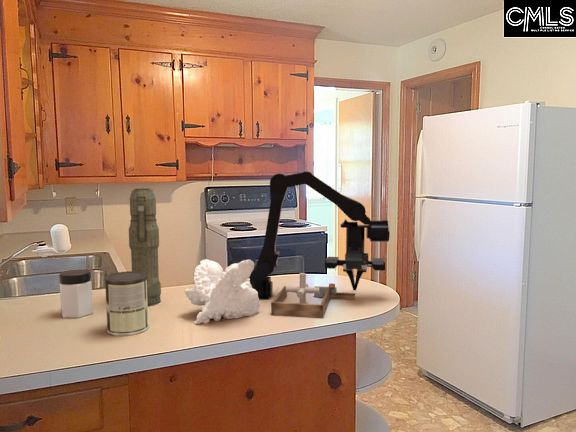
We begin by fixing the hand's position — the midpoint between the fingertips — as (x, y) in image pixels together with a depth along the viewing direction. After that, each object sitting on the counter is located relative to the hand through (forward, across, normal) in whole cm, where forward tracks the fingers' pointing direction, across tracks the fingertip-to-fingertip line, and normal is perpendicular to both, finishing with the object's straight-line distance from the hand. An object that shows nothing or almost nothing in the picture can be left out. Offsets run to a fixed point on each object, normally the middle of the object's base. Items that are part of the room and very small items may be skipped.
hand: (354, 290), depth 150 cm
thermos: (+2, -63, -17) cm, 65 cm away
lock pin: (+3, -9, 0) cm, 10 cm away
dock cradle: (+3, -11, -10) cm, 15 cm away
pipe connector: (+3, -15, -12) cm, 19 cm away
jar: (+2, -77, -31) cm, 83 cm away
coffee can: (+3, -56, -40) cm, 69 cm away
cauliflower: (+3, -36, -25) cm, 44 cm away
